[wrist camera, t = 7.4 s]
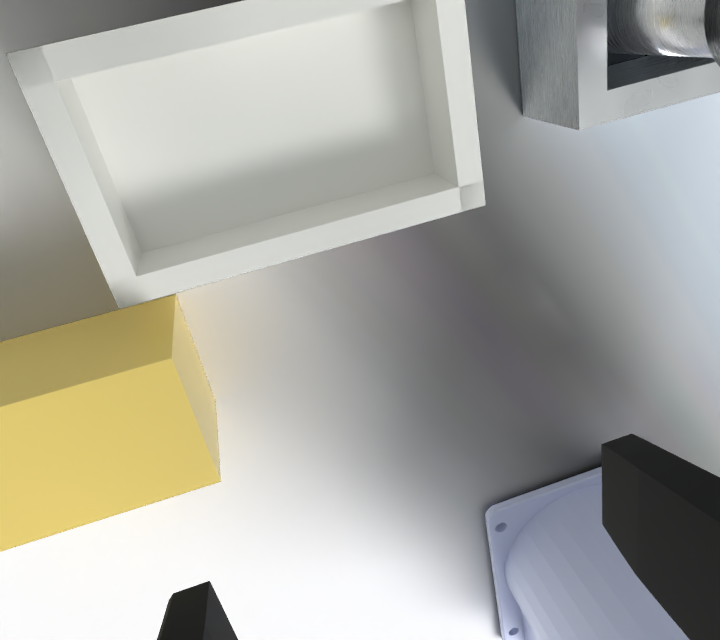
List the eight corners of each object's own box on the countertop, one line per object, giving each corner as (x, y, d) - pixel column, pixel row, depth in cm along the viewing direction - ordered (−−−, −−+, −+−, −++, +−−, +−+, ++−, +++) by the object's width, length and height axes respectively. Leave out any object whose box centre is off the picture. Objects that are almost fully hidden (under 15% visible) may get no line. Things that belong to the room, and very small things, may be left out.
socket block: (669, 77, 19) (747, 84, 16) (523, 115, 18) (579, 130, 15) (678, -116, 16) (771, -144, 14) (510, -79, 16) (573, -102, 13)
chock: (215, 401, 20) (220, 481, 16) (28, 457, 19) (-9, 554, 15) (175, 294, 18) (171, 358, 14) (-35, 350, 17) (-94, 433, 13)
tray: (452, 185, 18) (485, 204, 16) (128, 275, 17) (118, 309, 15) (423, -37, 16) (459, -48, 13) (33, 51, 14) (5, 53, 12)
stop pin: (643, 53, 18) (875, 62, 12) (548, 77, 18) (736, 101, 12) (647, -70, 17) (912, -132, 10) (542, -47, 16) (755, -96, 10)
